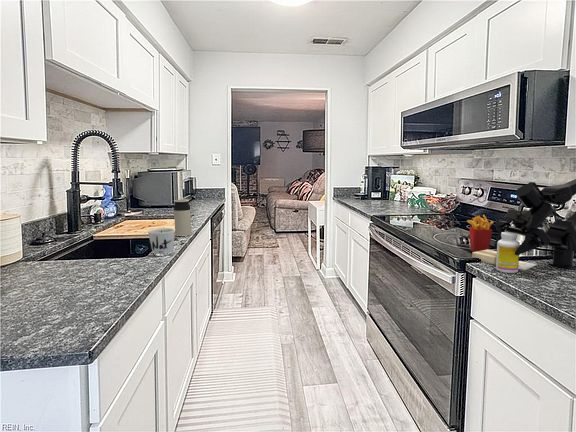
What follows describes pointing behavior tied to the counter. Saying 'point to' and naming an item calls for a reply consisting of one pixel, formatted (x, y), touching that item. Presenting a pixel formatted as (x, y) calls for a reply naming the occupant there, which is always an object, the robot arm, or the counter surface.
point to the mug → (162, 240)
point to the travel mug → (182, 217)
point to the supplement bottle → (507, 253)
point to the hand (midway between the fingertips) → (504, 251)
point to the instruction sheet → (525, 265)
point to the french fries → (480, 234)
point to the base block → (486, 256)
